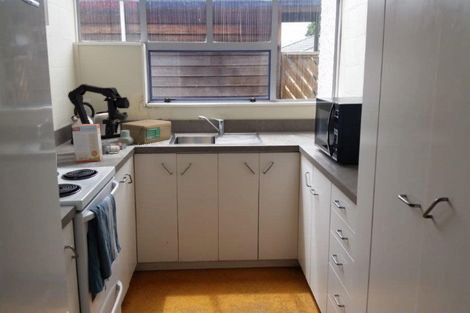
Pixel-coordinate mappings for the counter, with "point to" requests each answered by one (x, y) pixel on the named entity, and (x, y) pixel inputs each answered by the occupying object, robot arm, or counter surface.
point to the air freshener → (125, 138)
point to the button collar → (121, 146)
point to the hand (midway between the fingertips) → (114, 134)
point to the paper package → (148, 131)
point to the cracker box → (87, 142)
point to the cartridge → (112, 149)
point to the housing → (104, 147)
